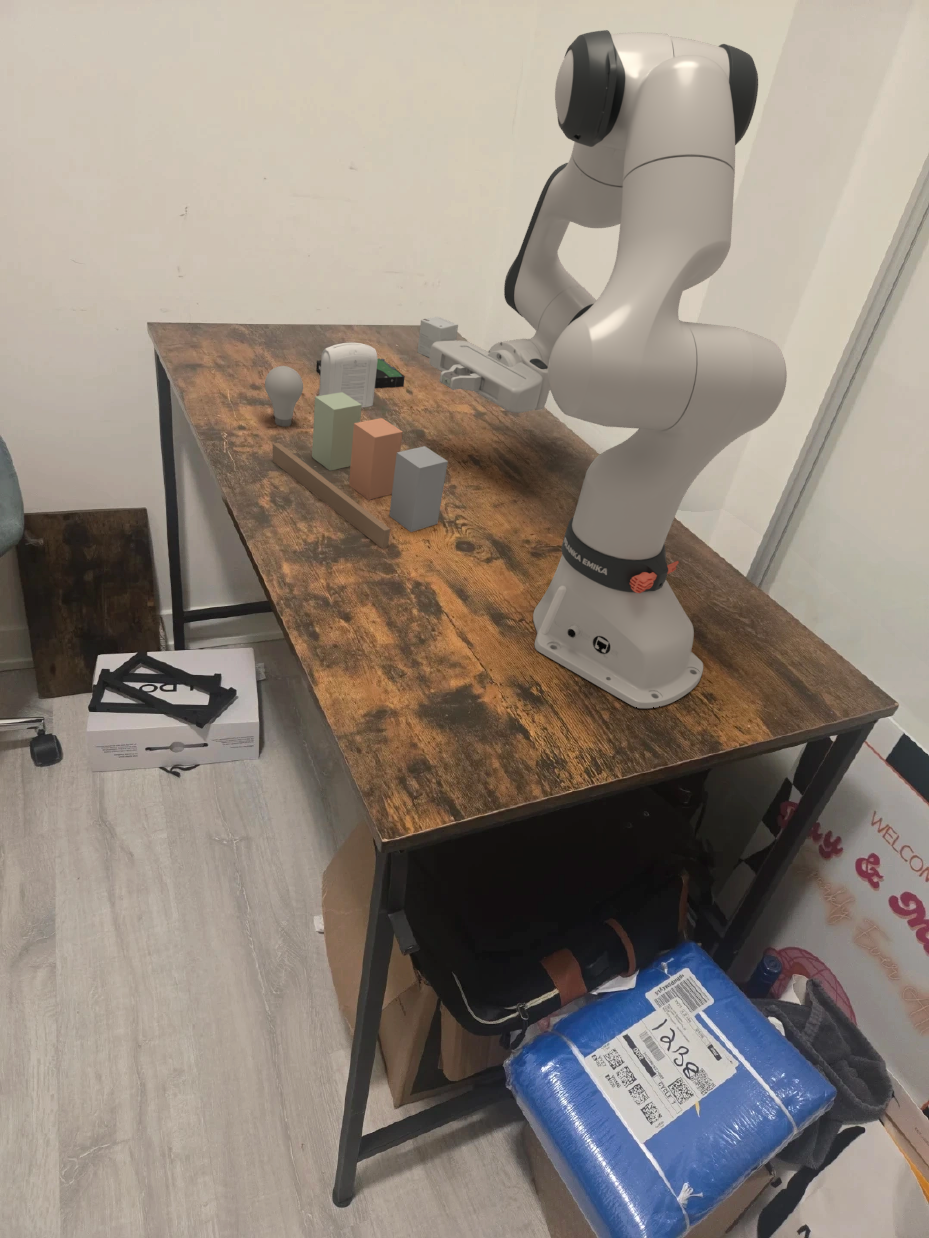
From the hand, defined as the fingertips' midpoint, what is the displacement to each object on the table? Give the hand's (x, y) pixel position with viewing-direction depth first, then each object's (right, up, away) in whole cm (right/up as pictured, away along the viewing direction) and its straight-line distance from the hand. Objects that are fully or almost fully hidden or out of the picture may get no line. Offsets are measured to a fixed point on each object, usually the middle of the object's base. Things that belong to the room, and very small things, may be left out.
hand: (446, 381), depth 118 cm
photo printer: (-19, +2, +26) cm, 33 cm away
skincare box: (-4, +23, +58) cm, 63 cm away
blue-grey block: (-5, -21, -4) cm, 22 cm away
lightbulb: (-28, -4, +16) cm, 32 cm away
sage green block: (-18, -11, +7) cm, 22 cm away
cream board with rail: (-12, -17, +2) cm, 21 cm away
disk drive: (-18, +12, +40) cm, 46 cm away
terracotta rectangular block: (-11, -16, +1) cm, 20 cm away
